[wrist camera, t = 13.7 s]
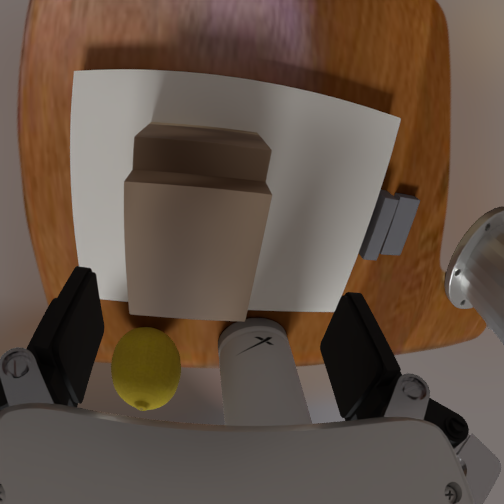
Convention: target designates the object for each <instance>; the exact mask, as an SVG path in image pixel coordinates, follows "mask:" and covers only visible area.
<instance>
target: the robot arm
mask: <svg viewBox="0 0 504 504" xmlns="http://www.w3.org/2000/svg"><path fill="white" fill-rule="evenodd" d="M445 292H446V295H447V297H448V299H449V300H450V301H451V302H452V304H453V305H454V306H456V307H457V308H461V309H468V308H472V307H474V308H475V309H476V310H477V312H478V313H479V314H480V315H481V317H482V318H483V319H484V320H485V321H486V324H487V327H488V328H489V329H491V330H493V332H494V333H495V334H496V335H497V337H498V338H499V339H500V341H501V342H502V343H503V345H504V207H498V208H494V209H493V210H491V211H489V212H487V213H485V214H484V215H483V216H482V217H480V218H479V219H478V220H477V221H476V222H475V223H474V224H473V225H472V226H471V227H470V229H469V230H468V231H467V232H466V234H465V235H464V237H463V238H462V239H461V241H460V243H459V244H458V246H457V248H456V250H455V251H454V253H453V255H452V258H451V260H450V263H449V265H448V269H447V273H446V277H445ZM103 333H104V322H103V316H102V310H101V304H100V298H99V291H98V284H97V276H96V273H95V272H92V270H91V268H87V267H79V266H77V267H75V269H74V270H73V272H72V274H71V275H70V277H69V279H68V280H67V282H66V284H65V285H64V287H63V289H62V291H61V292H60V294H59V296H58V298H55V299H53V300H52V302H51V303H50V305H49V307H48V309H47V310H46V312H45V315H44V316H43V318H42V320H41V322H40V323H39V325H38V327H37V329H36V331H35V333H34V335H33V337H32V339H31V341H30V343H29V345H28V347H27V349H24V348H13V349H10V350H9V351H7V352H6V353H4V355H2V357H1V359H0V504H483V503H484V501H485V499H486V498H487V496H488V494H489V492H490V491H491V489H492V487H493V485H494V484H495V481H496V480H497V478H498V476H499V474H500V471H501V464H500V461H499V460H498V458H497V457H496V456H495V455H494V454H493V453H492V452H491V451H490V450H489V449H488V448H487V447H486V446H485V445H484V444H482V442H481V441H480V440H479V439H477V438H476V437H475V436H474V435H473V434H471V435H468V430H469V429H468V425H467V423H466V421H465V420H464V419H463V417H461V416H460V415H459V414H457V413H455V412H453V411H451V410H450V409H448V408H446V407H445V406H443V405H441V404H439V403H438V402H436V401H434V400H432V399H431V398H429V397H430V390H429V387H428V385H427V383H426V382H425V381H424V380H423V379H422V378H420V377H419V376H417V375H414V374H404V375H402V374H401V372H400V370H401V369H400V367H399V365H398V363H397V361H396V359H395V357H394V354H393V352H392V350H391V349H390V347H389V345H388V343H387V341H386V339H385V337H384V335H383V333H382V331H381V329H380V327H379V325H378V323H377V321H376V319H375V318H374V316H373V314H372V312H371V310H370V308H369V306H368V305H367V303H366V301H365V299H364V297H363V295H362V294H361V293H351V292H347V293H346V294H345V295H344V296H341V298H340V300H339V302H338V305H337V307H336V310H335V312H334V314H333V317H332V319H331V321H330V323H329V326H328V328H327V330H326V333H325V335H324V337H323V339H322V341H321V345H320V350H321V353H322V356H323V360H324V363H325V366H326V369H327V372H328V376H329V379H330V382H331V385H332V389H333V391H334V395H335V399H336V402H337V405H338V408H339V412H340V415H341V417H342V418H345V421H342V422H331V423H320V424H319V423H318V424H303V425H278V426H231V425H206V424H192V423H179V422H168V421H159V420H150V419H143V418H136V417H129V416H122V415H116V414H110V413H104V412H98V411H93V410H88V409H83V408H77V405H78V403H82V401H83V398H84V395H85V391H86V388H87V384H88V381H89V377H90V374H91V370H92V367H93V364H94V361H95V358H96V355H97V351H98V348H99V345H100V342H101V339H102V336H103Z"/></svg>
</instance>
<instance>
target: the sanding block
mask: <svg viewBox="0 0 504 504" xmlns="http://www.w3.org/2000/svg"><path fill="white" fill-rule="evenodd" d="M271 153H272V150H271V149H270V147H269V146H268V145H267V144H266V143H265V141H264V140H263V139H262V138H261V137H260V135H259V134H258V133H257V132H250V131H243V130H235V129H227V128H218V127H209V126H199V125H188V124H176V123H161V122H151V123H149V124H148V125H147V126H146V127H145V128H144V129H142V130H141V131H140V132H139V133H138V134H137V135H136V136H135V137H134V148H133V167H132V171H131V172H130V174H129V175H128V177H127V178H126V179H125V181H124V241H125V262H126V278H127V291H128V303H129V313H130V314H132V315H144V316H155V317H168V318H183V319H199V320H217V321H241V322H245V320H246V315H247V311H248V306H249V301H250V297H251V292H252V288H253V283H254V278H255V274H256V269H257V265H258V260H259V255H260V251H261V246H262V241H263V237H264V232H265V227H266V223H267V218H268V213H269V209H270V204H271V199H272V193H271V191H270V189H269V187H268V185H267V184H266V178H267V173H268V168H269V163H270V158H271Z"/></svg>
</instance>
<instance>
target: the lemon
mask: <svg viewBox="0 0 504 504" xmlns="http://www.w3.org/2000/svg"><path fill="white" fill-rule="evenodd" d="M111 372H112V379H113V384H114V387H115V389H116V391H117V393H118V394H119V396H120V397H121V398H122V399H123V400H124V401H125V402H127V403H128V404H129V405H131V406H133V407H136V408H137V409H138V410H141V411H145V410H150V409H155V408H159V407H161V406H162V405H164V404H166V403H167V402H168V401H169V400H170V399H171V398H172V397H173V395H174V394H175V391H176V389H177V386H178V383H179V379H180V373H181V364H180V356H179V352H178V350H177V348H176V346H175V344H174V342H173V341H172V340H171V338H170V337H169V336H168V335H166V334H165V333H164V332H162V331H160V330H158V329H155V328H152V327H139V328H136V329H133V330H131V331H129V332H128V333H126V334H125V335H124V336H123V337H122V338H121V339H120V341H119V342H118V344H117V345H116V347H115V350H114V354H113V357H112V363H111Z"/></svg>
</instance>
